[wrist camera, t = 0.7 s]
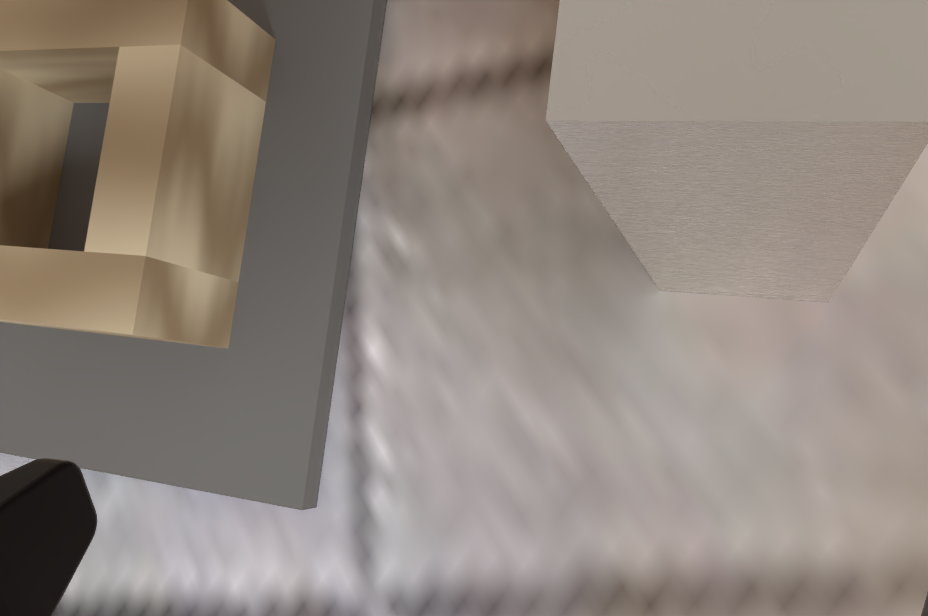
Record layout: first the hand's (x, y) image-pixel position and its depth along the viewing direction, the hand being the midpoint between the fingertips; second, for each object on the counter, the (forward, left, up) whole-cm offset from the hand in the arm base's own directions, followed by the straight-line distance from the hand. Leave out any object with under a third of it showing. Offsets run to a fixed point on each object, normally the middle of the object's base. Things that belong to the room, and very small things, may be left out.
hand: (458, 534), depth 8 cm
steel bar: (+7, -2, -13) cm, 15 cm away
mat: (+7, +17, -13) cm, 22 cm away
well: (+7, +17, -13) cm, 22 cm away
